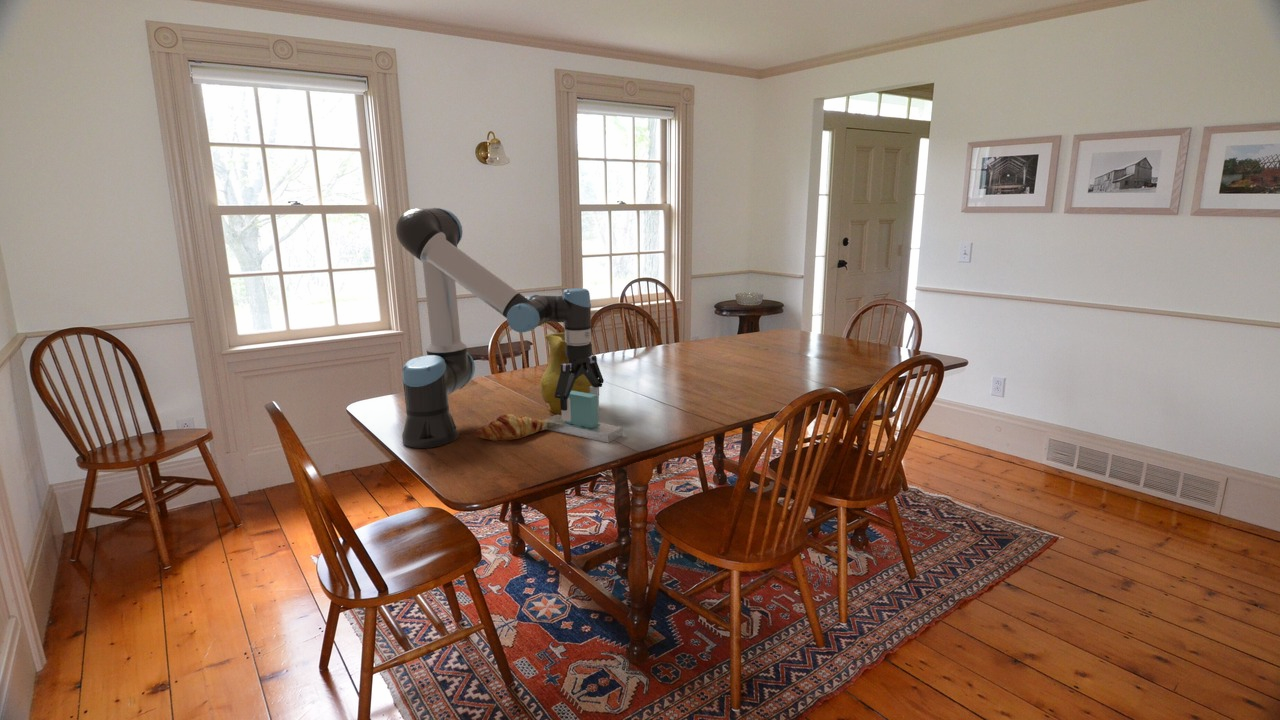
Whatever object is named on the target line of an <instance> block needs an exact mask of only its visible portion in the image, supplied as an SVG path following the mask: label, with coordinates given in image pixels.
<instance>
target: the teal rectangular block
mask: <svg viewBox="0 0 1280 720" xmlns="http://www.w3.org/2000/svg"><path fill="white" fill-rule="evenodd" d="M568 399H570V409H571V421H565V423H567V424H569V425H578V426H583V427H586V428H588V429H593V428H595V427H596V426H598V423H599V409H598V395H595V394H589V393H583V392H578V391H572V390H571V392H570V394H569V397H568Z"/></svg>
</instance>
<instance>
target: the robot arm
mask: <svg viewBox="0 0 1280 720" xmlns="http://www.w3.org/2000/svg"><path fill="white" fill-rule="evenodd" d="M395 229H396V230H395V231H396V232H395V233H396V237H397V240H398V242H399V243H400V245H401V246H402V247H403V248H404V249H405V250H406V251H408V252H409V254H411V255H412V256H414V257H415V258H416V259H418V260H419V262H420V261H421V263H422V267H423V278H424V285H425V286H424V288H425V296H426V297H425V298H426V306H427V314H428V315H427V316H428V324H429V325H428V326H429V335H430V345H428V347H426V355H421V356H419V357H414V358H412V359H409V360H408V361H406V362H405V363H404V364H403V366H402V377H401V378H402V379H401V380H402V383H403V384H402V385H403V392H404V393H403V394H404V402H405V411H406V412H405V413H406V417H405V421H404V426H403V427H404V428H403V430H402V431H403V432H402V433H401V437H402V439H401V440H402V443H403V445H404V446H406V447H410V448H414V449H416V448H417V449H429V448H436V447H440V446H445V445H447V444H451V443H452V442H454V441H455V440H457V438H458V437H459V436H458V428H457V426H456V424H455V420H454V418H453V416H452V415H451V411H450V403H449V395H451V394H452V393H454V392H457V391H458V390H461V389H463V388H464V387H465V386H466V385H468V383H470V382H471V381H472V379H473V377H474V376H475V371H476V370H475V369H476V365H475V361H474V359H473V357H472V355H470V353H469V352H468V348H467V347H468V346H467V345H466V343H464V342H463V341H462V339H461V328H460V318H459V308H458V306H459V305H458V297H457V287H456V283H457V284H459V285H460V286H461V287H463V288H464V289H465V290H467V291H468V292H469V293H471V294H473V295H474V296H475V297H476V298H478V299H480V300H481V301H482V302H483V303H485V304H486V305H488V306H489V307H490V308H492V309H494V310H495V311H496V312H497V313H499V314H500V315H501V316H503V317H504V318H506V322H507V324H508V325H509V328H511V330H513V331H514V332H516V333H526V332H530V331H533V330H535V329H537V328H538V327H540V326H543V324H545V323H564V333H565V342H566V343H567V344H566V345H565V349H566V357H568V359H569V362H568V364H563V363H562V364H561V372H560V376H559V380H558V384H557V388H556V392H555V398H559V399H560V406H561V411H562V414H561V415H562V420H564V421H571V409H570V399H568V397H569V394H570V392H571V390H572V387H573V385H574V383H575V380H576V379H577V378H578V377H579V376H581V375H582V374H584V375H585V376H586V378H587V379H588V381H589V382H590V383H591V385H592V386H591V387H590V394H595V395H598V410H599V409H600V388H602V387H603V384H604V381H605V380H604V378H603V375H602V373H601V370H600V367H599V364H598V360H597V359H598V358H597V355H595V354H594V355H593V346H592V343H591V342H592V311H591V310H592V309H591V307H592V303H591V295H590V290H588V289H586V288H579V287H575V288H566V289H564V290H563V291H562V295H539V294H534V295H525V296H524V295H523V294H521V293H520V291H517V290H516V289H514V288H513V287H512V286H511V285H509V284H508V283H506V282H505V281H504V280H502V279H501V278H500V277H498V276H496V274H494V273H492V272H491V271H490V270H489V269H487V268H486V267H485V266H483V265H481V264H480V263H479V262H477V261H476V260H475V259H473V258H472V257H471V256H469V255H468V254H466V253H465V252H464V251H463V250H461V249H460V248H458V245H459V243H460V242H461V240H462V237H463V225H462V223H461V221H460V219H459V218H458V217H457V216H456V215H455V214H454V213H453V212H452V211H450V210H447V209H445V208H444V209H443V208H441V207H438V208H437V207H432V208H430V207H429V208H412V209H408V210H406V211H405V212H403V213H402V214H401V215H400V216H399V218H398V219H397V222H396V226H395ZM571 373H572V374H571Z"/></svg>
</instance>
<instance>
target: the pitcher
mask: <svg viewBox="0 0 1280 720" xmlns="http://www.w3.org/2000/svg"><path fill="white" fill-rule="evenodd" d="M545 339H546V340H547V342H548V346H549V360H548V363H547V366H546V369H545V370H544V372H543V373H542V376H541V380H540V393H541V397H542V398H543V401H544V402H545V403H546V404H547V403H548V405H549V407H547V411H549V412H552V413H554V414H556V415H557V414H558V415H562V411H561V406H560V399H559V398H555V392H556V388H557V384H558V380H559V376H560V372H561V364H562V363H563V364H568V362H569V359H568V357H566V349H565V345H566V344H567V343H566V342H565V332H554V333H549V334H548V333H547V334H546V335H545ZM571 374H572V373H571ZM591 386H592V385H591V383H590V382H589V381H588V379H587V378H586V376H585V375H584V374H582V375H581V376H579V377H578V378H577V379H576V380H575V383H574V385H573V387H572V391H578V392H583V393H589V394H590V387H591Z"/></svg>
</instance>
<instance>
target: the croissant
mask: <svg viewBox="0 0 1280 720" xmlns="http://www.w3.org/2000/svg"><path fill="white" fill-rule="evenodd" d="M546 427H547V423H546V422H543V420H541V419H538V418H536V419H534V418H531V417H529V416H527V415H522V416H519V417H517V416H515V414H513V413H510V414H508V413H506V414H500V415H499V416H498V417H496V420H492V421H490V422H489V424H488V425H486V426H482V427H481V428H479V429H477V430H474V434H475V436H476V437H478V438H481V439H483V440H484V439H485V440H488V441H495V442H497V441H511V440H519V439H523V438H526V437H527V436H532V435H534V434H536V433H538V432H542V431H543V430H546V429H545V428H546Z"/></svg>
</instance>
